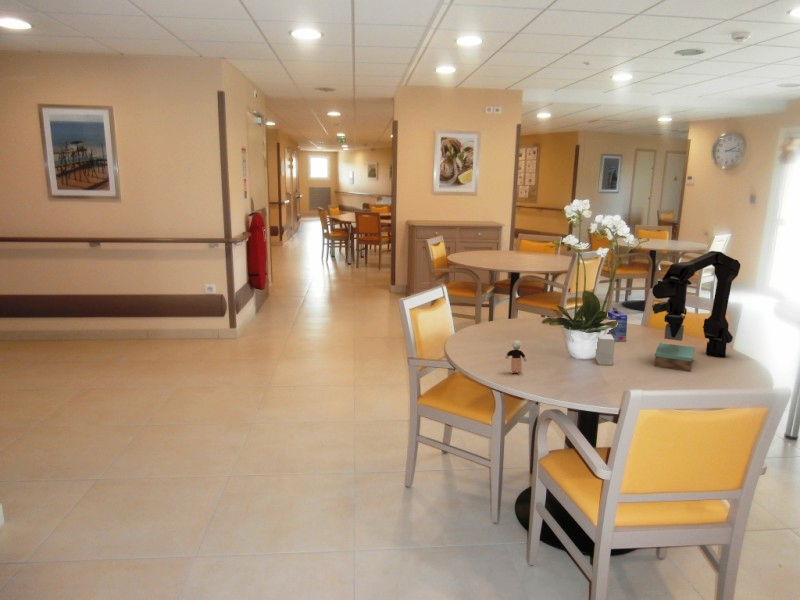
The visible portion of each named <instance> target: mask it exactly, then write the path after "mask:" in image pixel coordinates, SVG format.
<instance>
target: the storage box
mask: <svg viewBox="0 0 800 600" xmlns="http://www.w3.org/2000/svg"><path fill="white" fill-rule="evenodd" d="M692 364H693V360H692V361H686V360H679V359H672V358H665V357H658V356H655V360H654V367H656V368H657V367H658V368H664V369H672V370H677V371H678V370H679V371H686V372H691V368H692Z"/></svg>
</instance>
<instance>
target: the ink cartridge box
mask: <svg viewBox="0 0 800 600" xmlns="http://www.w3.org/2000/svg"><path fill="white" fill-rule="evenodd" d="M612 309H613V310H607V311H608V317H609V320H616V321H617V322H618V325H617V327H615V328H613V329H611V330H609V332H608V333H607V334H611V335H612V337H613V338H614V339H615V342H626V341H627V333H628V332H627V331H628V329H627V328H628V314H627V313H624V312H621V311H619V310H618V309H617V308H615V307H612Z"/></svg>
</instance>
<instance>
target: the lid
mask: <svg viewBox="0 0 800 600" xmlns="http://www.w3.org/2000/svg"><path fill="white" fill-rule="evenodd" d="M694 354H695V347H694V346H688V345H681V344H680V345H679V344H672V343H663V342H659V344H658V346H657V348H656V350H655V352H654V357H656V356H658V357H665V358H672V359H679V360H686V361H692V362H693V359H694Z"/></svg>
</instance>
